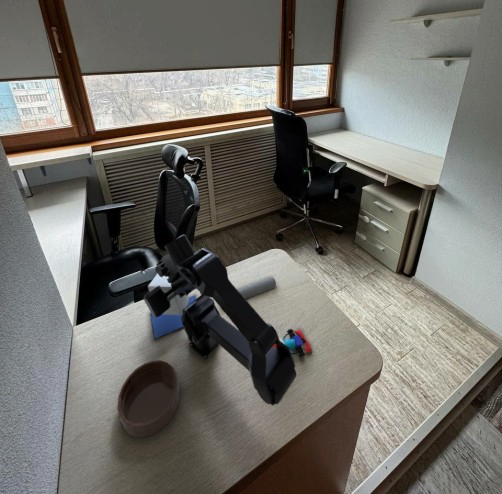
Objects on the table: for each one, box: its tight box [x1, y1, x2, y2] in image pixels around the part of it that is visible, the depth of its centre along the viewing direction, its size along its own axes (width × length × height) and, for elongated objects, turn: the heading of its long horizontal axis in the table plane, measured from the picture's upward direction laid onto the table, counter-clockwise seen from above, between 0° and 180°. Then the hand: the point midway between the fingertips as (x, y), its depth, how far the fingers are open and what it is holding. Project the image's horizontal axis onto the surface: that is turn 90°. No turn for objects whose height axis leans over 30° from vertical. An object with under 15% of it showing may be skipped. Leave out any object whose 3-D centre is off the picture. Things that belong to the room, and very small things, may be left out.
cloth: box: [150, 294, 197, 340], centre depth 82 cm, size 14×9×1 cm, turn 117°
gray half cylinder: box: [237, 276, 277, 300], centre depth 89 cm, size 4×20×2 cm, turn 114°
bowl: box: [117, 359, 180, 438], centre depth 61 cm, size 13×13×4 cm
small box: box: [147, 273, 190, 315], centre depth 79 cm, size 8×6×10 cm
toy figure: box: [272, 328, 313, 358], centre depth 71 cm, size 8×5×15 cm
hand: (170, 289), depth 79 cm, fingers closed on small box, 7 cm apart
